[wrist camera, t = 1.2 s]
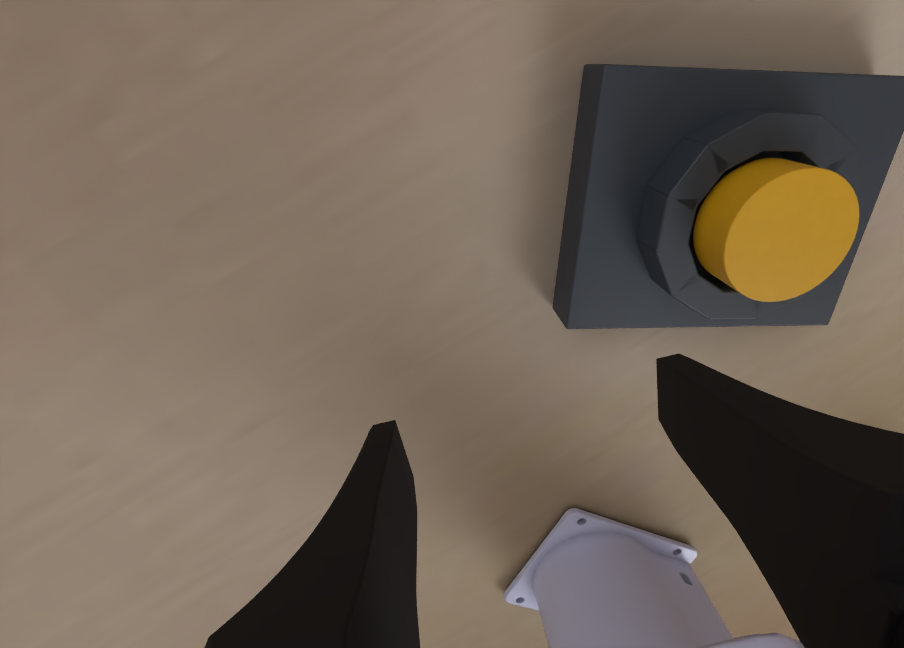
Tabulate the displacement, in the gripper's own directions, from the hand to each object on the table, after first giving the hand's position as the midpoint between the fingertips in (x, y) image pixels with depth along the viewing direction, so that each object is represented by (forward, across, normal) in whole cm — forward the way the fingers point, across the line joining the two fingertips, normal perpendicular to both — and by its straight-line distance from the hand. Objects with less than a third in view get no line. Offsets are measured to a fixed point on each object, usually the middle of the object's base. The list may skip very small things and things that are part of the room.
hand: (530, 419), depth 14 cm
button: (+6, -10, -1) cm, 12 cm away
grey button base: (+10, -10, -1) cm, 14 cm away
